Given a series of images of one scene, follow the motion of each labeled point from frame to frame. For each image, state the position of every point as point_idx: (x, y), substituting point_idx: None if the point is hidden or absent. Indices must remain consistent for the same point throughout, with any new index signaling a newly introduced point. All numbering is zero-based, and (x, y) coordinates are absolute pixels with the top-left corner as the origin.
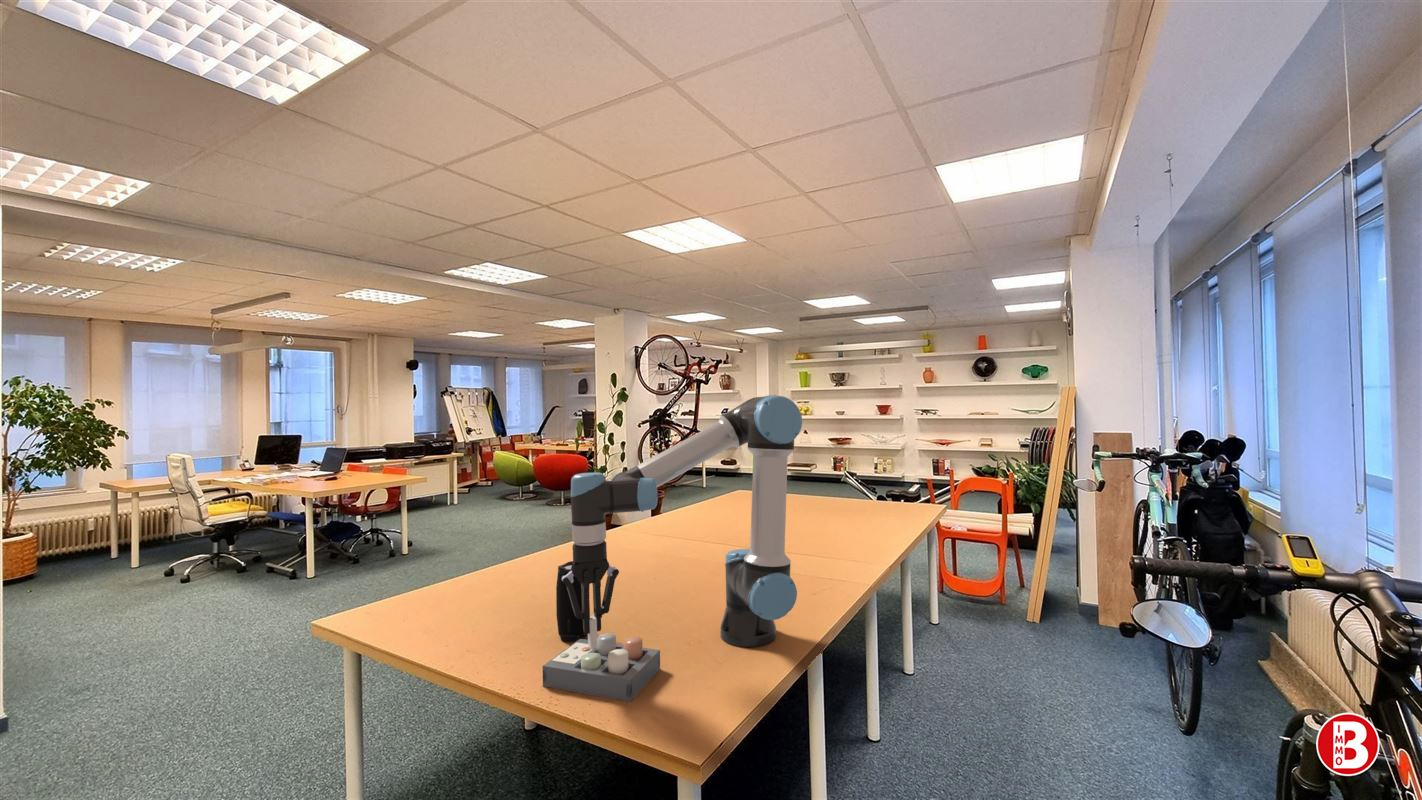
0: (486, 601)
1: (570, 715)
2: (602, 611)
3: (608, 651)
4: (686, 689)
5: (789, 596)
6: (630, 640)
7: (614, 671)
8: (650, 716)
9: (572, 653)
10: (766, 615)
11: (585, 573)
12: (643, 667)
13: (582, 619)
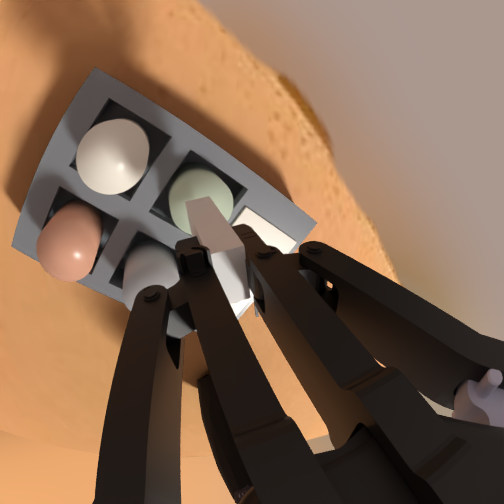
0: (316, 430)
1: (251, 59)
2: (176, 296)
3: (145, 252)
4: None
5: None
6: (72, 255)
7: (132, 121)
8: (80, 11)
9: None
10: None
11: (477, 479)
12: (48, 147)
13: (215, 399)
